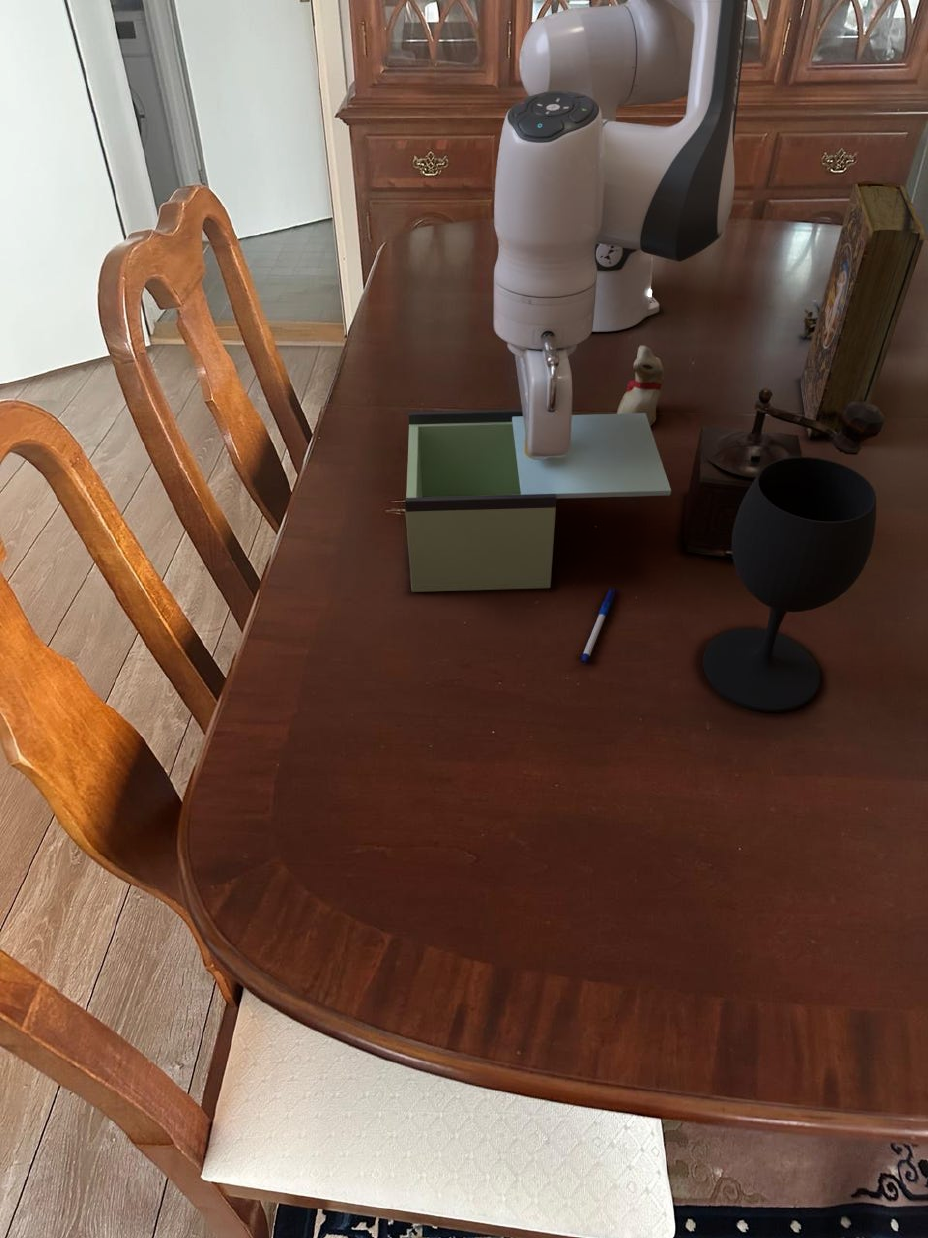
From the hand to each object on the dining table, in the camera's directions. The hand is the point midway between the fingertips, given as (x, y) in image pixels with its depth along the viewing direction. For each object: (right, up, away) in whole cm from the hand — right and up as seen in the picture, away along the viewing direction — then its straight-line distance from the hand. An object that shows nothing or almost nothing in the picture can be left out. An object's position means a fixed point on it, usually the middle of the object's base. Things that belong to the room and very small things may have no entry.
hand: (537, 445), depth 88 cm
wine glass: (+20, -22, -6) cm, 30 cm away
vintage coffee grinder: (+24, -8, +8) cm, 27 cm away
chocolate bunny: (+15, +8, +26) cm, 31 cm away
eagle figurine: (+45, +22, +40) cm, 64 cm away
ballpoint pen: (+6, -18, -2) cm, 19 cm away
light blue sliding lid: (+5, -1, +1) cm, 5 cm away
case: (-6, -9, +8) cm, 13 cm away
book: (+39, +9, +26) cm, 48 cm away
